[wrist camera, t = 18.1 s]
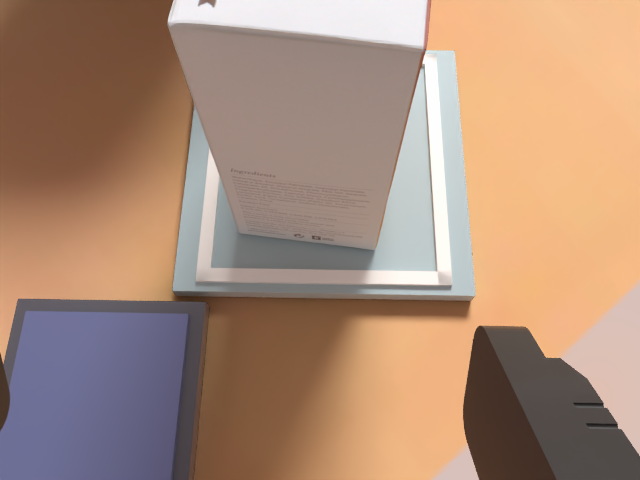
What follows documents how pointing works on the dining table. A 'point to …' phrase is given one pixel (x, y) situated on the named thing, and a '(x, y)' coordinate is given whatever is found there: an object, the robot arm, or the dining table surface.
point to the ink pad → (103, 390)
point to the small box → (303, 107)
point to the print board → (341, 261)
